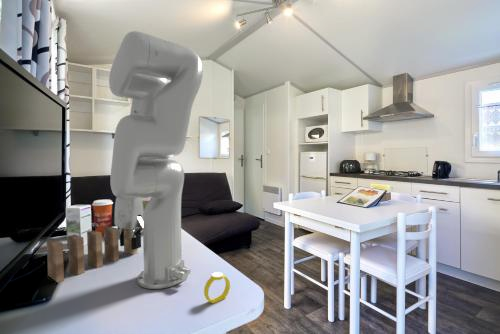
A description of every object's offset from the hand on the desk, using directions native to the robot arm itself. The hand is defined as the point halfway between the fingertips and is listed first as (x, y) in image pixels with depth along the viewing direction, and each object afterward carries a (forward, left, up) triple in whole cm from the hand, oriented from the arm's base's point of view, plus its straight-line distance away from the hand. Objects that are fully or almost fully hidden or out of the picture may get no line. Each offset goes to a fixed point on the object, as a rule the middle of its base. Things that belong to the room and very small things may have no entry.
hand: (130, 246), depth 85 cm
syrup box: (+24, +4, -2) cm, 25 cm away
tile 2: (0, +11, -2) cm, 12 cm away
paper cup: (+30, -8, -2) cm, 31 cm away
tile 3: (0, +16, -2) cm, 17 cm away
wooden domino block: (0, +21, -2) cm, 22 cm away
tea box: (+19, -19, -2) cm, 27 cm away
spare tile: (0, 0, -2) cm, 2 cm away
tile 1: (0, +6, -2) cm, 7 cm away
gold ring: (-43, +7, -2) cm, 44 cm away
